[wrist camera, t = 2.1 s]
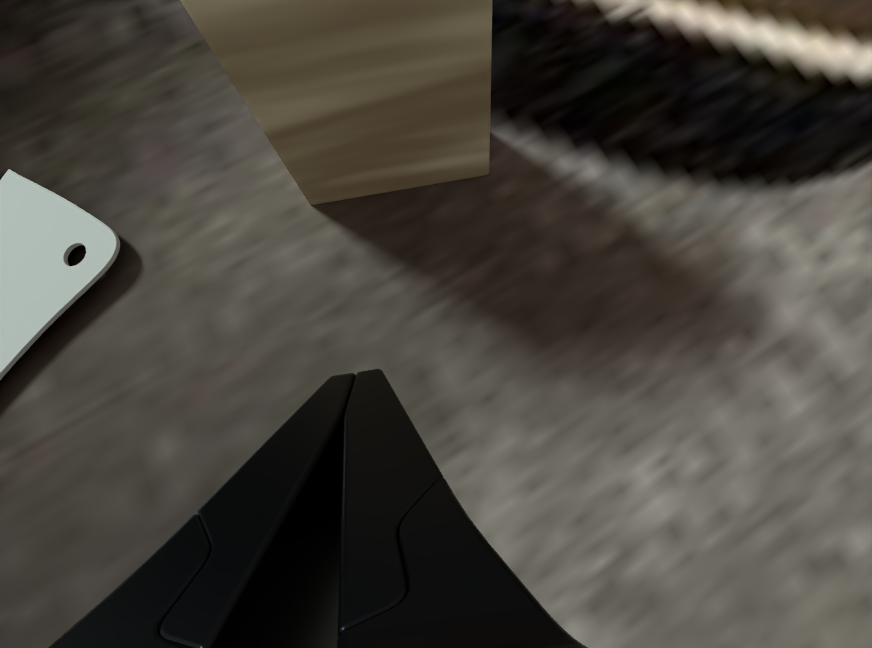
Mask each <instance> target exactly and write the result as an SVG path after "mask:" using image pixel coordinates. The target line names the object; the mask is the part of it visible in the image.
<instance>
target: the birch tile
mask: <svg viewBox="0 0 872 648" xmlns="http://www.w3.org/2000/svg"><path fill="white" fill-rule="evenodd" d="M180 1H181V3H182V4H183V6H184V7H185V9H186V10H187V12H188V14H189V15H190V17H191V18H192V20H193V21H194V23H195V25H196V26H197V28H198V29H199V31H200V32H201V34H202V36H203V37H204V39H205V40H206V42H207V43H208V45H209V47H210V48H211V50H212V51H213V53H214V54H215V56H216V57H217V59H218V61H219V62H220V64H221V65H222V67H223V68H224V70H225V72H226V73H227V75H228V76H229V78H230V79H231V81H232V83H233V84H234V86H235V87H236V89H237V90H238V92H239V94H240V95H241V97H242V98H243V100H244V101H245V103H246V105H247V106H248V108H249V109H250V111H251V112H252V114H253V116H254V117H255V119H256V120H257V122H258V123H259V125H260V127H261V128H262V130H263V131H264V133H265V134H266V136H267V138H268V139H269V141H270V142H271V144H272V145H273V147H274V149H275V150H276V152H277V153H278V155H279V156H280V158H281V160H282V161H283V163H284V164H285V166H286V167H287V169H288V170H289V172H290V174H291V175H292V177H293V178H294V180H295V181H296V183H297V185H298V186H299V188H300V189H301V191H302V192H303V194H304V196H305V197H306V199H307V200H308V202H309V203H310V205H315V204H321V203H327V202H333V201H339V200H344V199H350V198H356V197H362V196H368V195H374V194H379V193H385V192H391V191H397V190H403V189H409V188H414V187H420V186H426V185H432V184H438V183H444V182H449V181H455V180H461V179H467V178H473V177H479V176H484V175H489V156H490V98H491V39H492V0H180Z"/></svg>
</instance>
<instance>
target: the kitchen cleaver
mask: <svg viewBox="0 0 872 648" xmlns="http://www.w3.org/2000/svg"><path fill="white" fill-rule="evenodd" d="M80 245H84V246H85V248H86V254H85V257H84V259H83V260H82V261H81V262H80V263H79V264H77V265H75V266H69V265H68V256H69V254H70V252H71V251H72V250H73V249H74V248H75V247H77V246H80ZM119 250H120V240H119V238H118V236H117V234H116V233H115V232H114V231H113V230H112V229H111V228H109V227H108V226H107V225H105V224H104V223H102V222H101V221H99V220H98V219H96V218H95V217H93V216H92V215H90V214H89V213H87V212H85V211H84V210H82V209H81V208H79V207H77V206H76V205H74V204H73V203H71V202H69V201H68V200H66V199H64V198H62V197H61V196H59V195H57V194H55V193H53V192H51V191H49V190H47V189H46V188H44V187H42V186H40V185H38V184H36V183H34V182H32V181H30V180H28V179H26V178H24V177H22V176H20V175H18V174H16V173H14V172H13V171H11V170H10V169H9V170H8V171H7V172H6V174H5V175H4V176H3V178H2V179H1V180H0V380H1V379H2V378H3V376H4V375H5V374H6V373H7V372H8V371H9V370H10V369H11V367H12V366H13V365H14V364H15V363H16V362H17V361H18V360H19V358H20V357H21V356H22V355H23V354H24V353H25V352H26V351H27V350H28V349H29V348H30V346H31V345H32V344H33V343H34V342H35V341H36V340H37V339H38V338H39V337H40V336H41V335H42V334H43V333H44V332H45V331H46V330H47V328H48V327H49V326H50V325H51V324H52V323H53V322H54V321H55V320H56V319H57V318H58V317H60V316H61V315H62V314H63V313H64V312H65V311H66V310H67V309H68V308H69V307H70V306H71V305H72V304H73V303H74V302H75V301H76V300H77V299H78V298H79V297H80V296H82V295H83V294H84V293H85V292H86V291H87V290H88V289H89V288H90V287H91V286H92V285H93V284H94V283H95V282H96V281H97V280H98V279H99V278H100V277H101V276H102V275H103V274H104V273H105V272H106V271H107V270H108V269H109V268H110V266H111V265H112V264H113V262H114V261H115V259H116V258H117V255H118V253H119Z"/></svg>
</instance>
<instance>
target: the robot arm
mask: <svg viewBox="0 0 872 648" xmlns="http://www.w3.org/2000/svg"><path fill="white" fill-rule="evenodd" d="M49 648H587V647H586V646H584V645H582V644H581V643H580V642H578V641H577V640H575V639H574V638H573V637H572V636H570V635H569V634H568V633H567V632H566V631H565V630H564V629H563V628H562V627H561V626H560V625H559V624H558V623H557V622H556V621H555V620H554V619H553V618H552V617H551V616H550V615H549V614H548V613H547V611H546V610H545V609H544V608H543V607H542V606H541V605H540V603H539V602H538V601H537V600H536V599H535V597H534V596H533V595H532V594H531V593H530V592H529V590H528V589H527V588H526V587H525V586H524V584H523V583H522V582H521V581H520V580H519V579H518V577H517V576H516V575H515V574H514V573H513V571H512V570H511V569H510V568H509V567H508V566H507V564H506V563H505V562H504V561H503V560H502V558H501V557H500V556H499V555H498V554H497V552H496V551H495V550H494V549H493V548H492V547H491V545H490V544H489V543H488V542H487V540H486V539H485V538H484V537H483V535H482V534H481V533H480V531H479V530H478V529H477V528H476V526H475V525H474V524H473V522H472V521H471V520H470V518H469V517H468V516H467V514H466V512H465V511H464V509H463V508H462V506H461V505H460V503H459V502H458V500H457V498H456V497H455V495H454V494H453V492H452V490H451V489H450V487H449V485H448V483H447V482H446V480H445V479H444V478H443V475H442V474H441V472H440V470H439V468H438V467H437V465H436V463H435V461H434V460H433V458H432V456H431V455H430V453H429V451H428V449H427V448H426V446H425V444H424V442H423V441H422V439H421V437H420V435H419V434H418V432H417V430H416V429H415V427H414V425H413V423H412V422H411V420H410V418H409V416H408V415H407V413H406V411H405V410H404V408H403V406H402V404H401V403H400V401H399V399H398V397H397V396H396V394H395V392H394V390H393V389H392V387H391V385H390V384H389V382H388V380H387V378H386V377H385V375H384V373H383V371H382V370H380V369H374V370H368V371H362V372H358V373H357V375H355V374H354V373H349V374H343V375H336V376H332V377H330V378H329V379H328V380H327V381H326V382H325V383H324V384H323V385H322V386H321V387H320V388H319V389H318V390H317V391H316V392H315V393H314V394H313V395H312V396H311V397H310V398H309V399H308V400H307V401H306V402H305V403H304V404H303V405H302V406H301V407H300V408H299V409H298V410H297V411H296V412H295V413H294V414H293V415H292V416H291V417H290V418H289V419H288V420H287V421H286V422H285V423H284V424H283V425H282V426H281V427H280V428H279V429H278V430H277V431H276V432H275V433H274V434H273V435H272V436H271V437H270V438H269V439H268V440H267V441H266V442H265V443H264V444H263V445H262V446H261V448H260V449H259V450H258V451H257V452H256V453H255V454H254V455H253V456H252V457H251V458H250V459H249V460H248V461H247V462H246V463H245V464H244V465H243V466H242V467H241V468H240V469H239V470H238V471H237V472H236V473H235V474H234V475H233V476H232V477H231V478H230V479H229V480H228V481H227V482H226V483H225V484H224V485H223V486H222V487H221V488H220V489H219V490H218V491H217V492H216V493H215V494H214V495H213V496H212V497H211V498H210V499H209V500H208V501H207V502H206V503H205V504H204V505H203V506H202V507H201V508H200V509H199V510H198V515H196V514H195V515H193V516H192V517H191V518H190V519H189V520H188V521H187V522H186V523H185V524H184V525H183V526H182V527H181V528H180V529H179V530H178V531H177V532H176V533H175V534H174V535H173V536H172V537H171V538H170V539H169V540H168V541H167V542H166V543H165V544H164V545H163V546H162V547H161V548H159V549H158V550H157V551H156V552H155V553H154V554H153V555H152V556H151V557H150V558H149V559H148V560H147V561H146V562H145V563H144V564H143V565H142V566H141V567H139V568H138V569H137V570H136V571H135V572H134V573H133V574H132V575H131V576H129V577H128V578H127V579H126V580H125V581H124V582H123V583H122V584H121V585H120V586H118V587H117V588H116V589H115V590H114V591H113V592H112V593H111V594H110V595H108V596H107V597H106V598H105V599H104V600H103V601H102V602H100V603H99V604H98V605H97V606H96V607H95V608H94V609H92V610H91V611H90V612H89V613H88V614H87V615H86V616H84V617H83V618H82V619H81V620H80V621H79V622H77V623H76V624H75V625H74V626H73V627H72V628H71V629H69V630H68V631H67V632H66V633H65V634H64V635H63V636H61V637H60V638H59V639H58V640H57V641H56V642H55V643H53V644H52V645H51V646H50V647H49Z"/></svg>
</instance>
